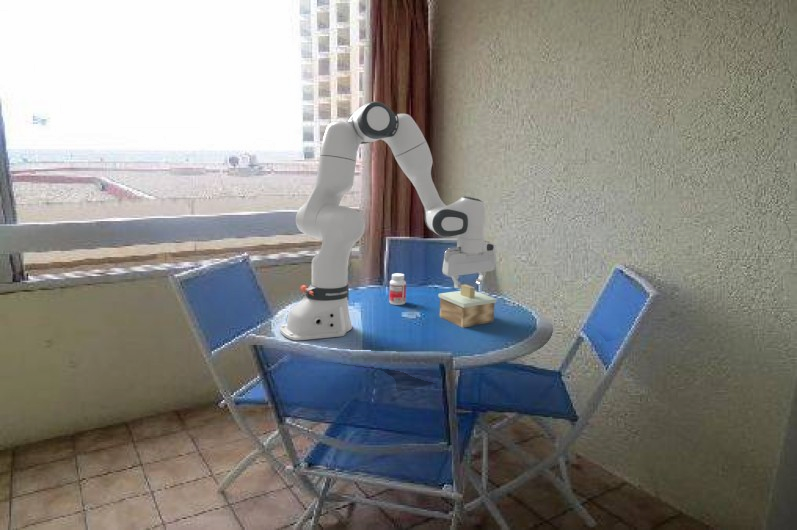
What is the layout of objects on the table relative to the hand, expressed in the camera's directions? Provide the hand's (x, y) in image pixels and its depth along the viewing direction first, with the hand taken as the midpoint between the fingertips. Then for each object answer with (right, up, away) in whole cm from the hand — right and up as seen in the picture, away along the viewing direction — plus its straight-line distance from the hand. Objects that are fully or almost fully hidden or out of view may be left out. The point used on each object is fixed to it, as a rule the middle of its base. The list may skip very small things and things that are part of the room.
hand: (468, 286), depth 173 cm
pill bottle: (-24, -7, +20) cm, 32 cm away
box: (0, -11, +2) cm, 12 cm away
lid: (0, -5, +1) cm, 5 cm away
